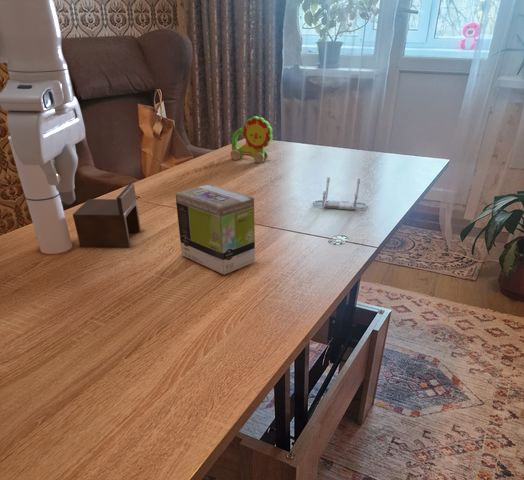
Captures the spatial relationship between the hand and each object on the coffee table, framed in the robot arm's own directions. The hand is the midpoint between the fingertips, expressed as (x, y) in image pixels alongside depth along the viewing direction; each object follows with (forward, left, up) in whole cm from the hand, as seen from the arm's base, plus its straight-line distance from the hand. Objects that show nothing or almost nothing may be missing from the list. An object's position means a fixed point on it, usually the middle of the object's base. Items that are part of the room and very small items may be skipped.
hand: (63, 178), depth 85 cm
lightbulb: (0, 0, -5) cm, 5 cm away
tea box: (+24, +16, -23) cm, 37 cm away
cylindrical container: (-15, +20, -23) cm, 34 cm away
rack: (-4, +27, -22) cm, 35 cm away
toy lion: (+26, +103, -23) cm, 108 cm away
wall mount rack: (+55, +55, -23) cm, 81 cm away
